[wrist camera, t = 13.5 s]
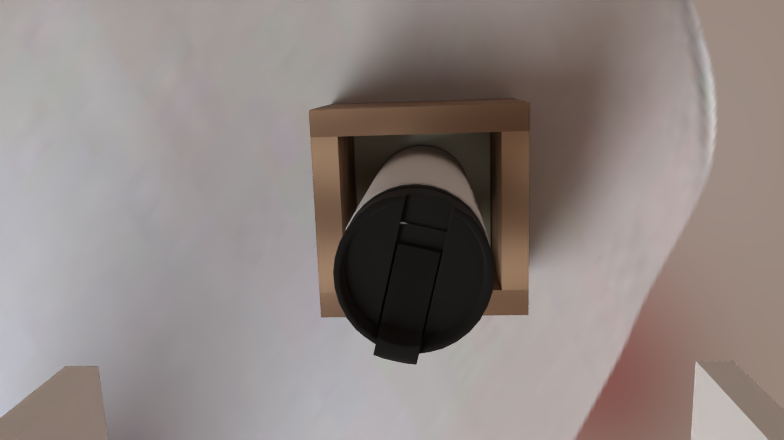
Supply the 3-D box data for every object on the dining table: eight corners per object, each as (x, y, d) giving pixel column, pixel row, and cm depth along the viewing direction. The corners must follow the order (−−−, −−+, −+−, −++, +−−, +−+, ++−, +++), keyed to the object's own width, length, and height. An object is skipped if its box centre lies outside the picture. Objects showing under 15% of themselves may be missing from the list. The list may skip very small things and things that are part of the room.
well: (330, 104, 45) (309, 110, 37) (512, 98, 44) (529, 102, 36) (339, 277, 48) (321, 317, 40) (512, 275, 47) (528, 314, 39)
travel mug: (365, 231, 45) (314, 346, 26) (385, 135, 44) (346, 179, 24) (456, 251, 45) (473, 382, 26) (479, 155, 44) (516, 216, 24)
